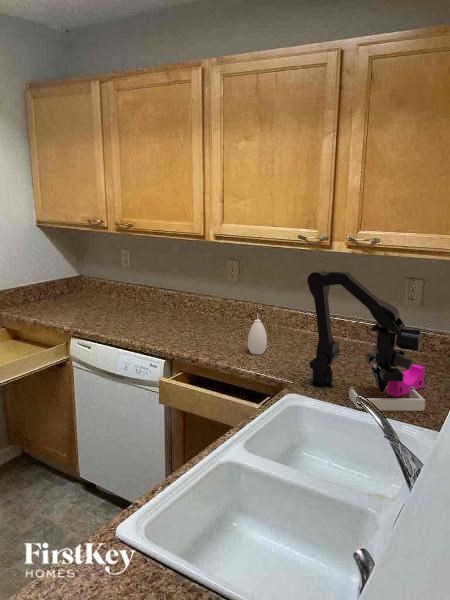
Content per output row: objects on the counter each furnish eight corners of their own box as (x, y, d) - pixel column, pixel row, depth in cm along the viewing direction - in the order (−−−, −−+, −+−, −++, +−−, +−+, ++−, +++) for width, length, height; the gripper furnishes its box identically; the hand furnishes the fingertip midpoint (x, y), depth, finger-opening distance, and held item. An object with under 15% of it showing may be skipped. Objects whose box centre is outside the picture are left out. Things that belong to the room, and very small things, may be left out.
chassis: (356, 410, 143) (357, 397, 142) (348, 398, 152) (349, 386, 151) (424, 410, 143) (425, 398, 143) (412, 398, 152) (413, 386, 152)
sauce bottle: (250, 351, 198) (251, 310, 194) (268, 354, 195) (269, 312, 192) (245, 357, 191) (245, 314, 187) (263, 359, 188) (264, 316, 185)
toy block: (407, 381, 167) (408, 362, 165) (422, 387, 162) (425, 367, 160) (380, 391, 158) (382, 370, 157) (397, 397, 153) (398, 376, 152)
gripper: (423, 355, 139) (418, 404, 142) (399, 337, 157) (395, 380, 161) (385, 355, 139) (381, 403, 142) (366, 337, 157) (363, 380, 161)
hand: (381, 391), depth 151 cm, fingers closed
